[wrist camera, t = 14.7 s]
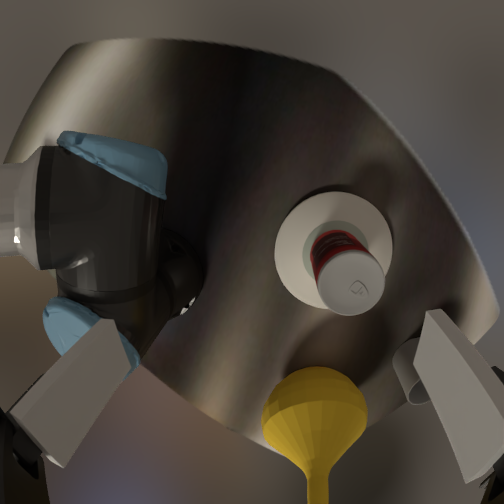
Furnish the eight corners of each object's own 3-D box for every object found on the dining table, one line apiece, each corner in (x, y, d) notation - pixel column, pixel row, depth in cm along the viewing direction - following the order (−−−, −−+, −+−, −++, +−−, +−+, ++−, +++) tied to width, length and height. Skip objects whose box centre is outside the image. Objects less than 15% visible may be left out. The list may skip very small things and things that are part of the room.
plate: (278, 308, 44) (277, 312, 42) (270, 194, 39) (270, 195, 37) (384, 300, 41) (387, 304, 40) (390, 190, 36) (394, 191, 35)
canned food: (348, 285, 40) (366, 324, 30) (300, 268, 40) (305, 303, 29) (369, 240, 37) (397, 266, 27) (321, 219, 37) (335, 240, 27)
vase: (246, 384, 50) (217, 521, 22) (318, 331, 44) (338, 497, 16) (306, 422, 52) (306, 539, 24) (374, 380, 47) (409, 508, 18)
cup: (412, 331, 43) (433, 364, 33) (436, 345, 43) (456, 376, 34) (384, 363, 45) (398, 399, 36) (409, 375, 46) (424, 408, 36)
